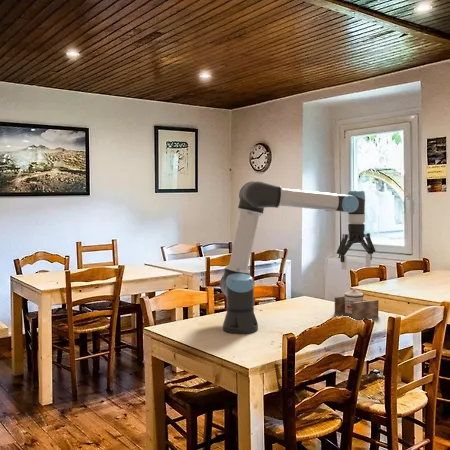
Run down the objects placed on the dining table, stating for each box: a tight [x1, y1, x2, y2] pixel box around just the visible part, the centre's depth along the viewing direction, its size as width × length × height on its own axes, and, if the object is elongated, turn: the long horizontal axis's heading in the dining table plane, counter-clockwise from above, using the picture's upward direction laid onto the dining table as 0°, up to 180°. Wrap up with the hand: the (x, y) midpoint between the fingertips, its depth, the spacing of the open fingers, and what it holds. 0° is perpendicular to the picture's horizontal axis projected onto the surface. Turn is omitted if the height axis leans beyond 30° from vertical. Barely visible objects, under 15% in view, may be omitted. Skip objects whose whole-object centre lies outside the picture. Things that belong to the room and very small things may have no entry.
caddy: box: [334, 295, 379, 320], centre depth 254 cm, size 14×15×8 cm
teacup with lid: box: [343, 287, 368, 314], centre depth 254 cm, size 12×9×12 cm
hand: (356, 268), depth 253 cm, fingers open, 13 cm apart
